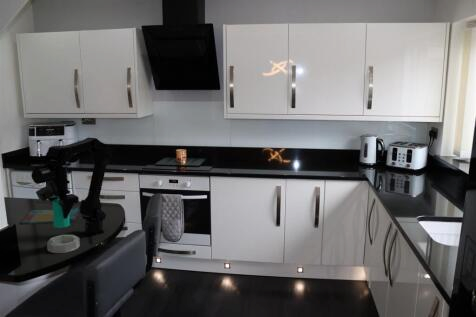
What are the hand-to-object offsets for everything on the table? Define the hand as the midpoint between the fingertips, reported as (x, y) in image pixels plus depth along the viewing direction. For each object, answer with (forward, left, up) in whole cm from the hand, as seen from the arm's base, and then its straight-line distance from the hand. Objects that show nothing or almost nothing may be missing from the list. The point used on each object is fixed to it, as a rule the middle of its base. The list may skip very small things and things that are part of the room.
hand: (61, 216), depth 157 cm
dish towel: (-13, -37, -14) cm, 42 cm away
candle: (0, 0, -4) cm, 4 cm away
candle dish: (0, 0, -13) cm, 13 cm away
